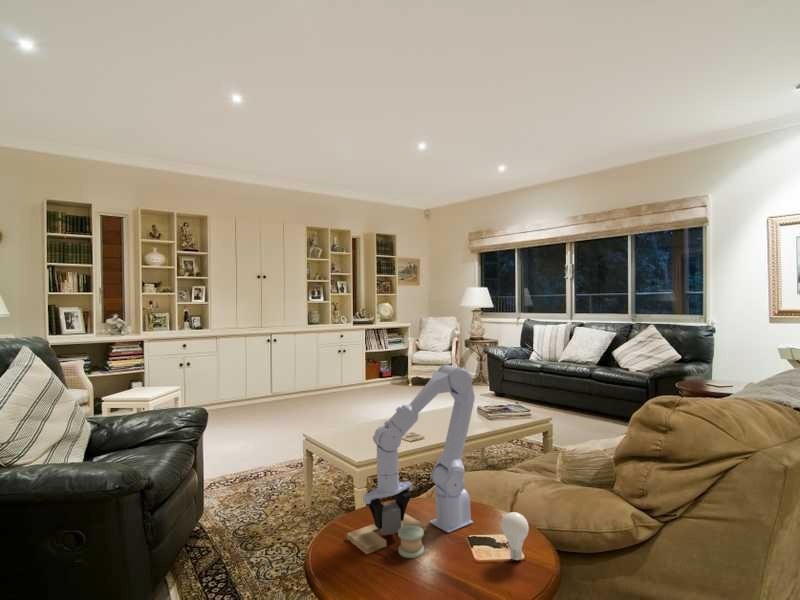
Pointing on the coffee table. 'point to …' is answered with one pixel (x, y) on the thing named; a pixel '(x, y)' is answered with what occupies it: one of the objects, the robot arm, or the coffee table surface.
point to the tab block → (391, 518)
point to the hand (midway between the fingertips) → (389, 523)
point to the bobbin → (411, 541)
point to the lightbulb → (515, 533)
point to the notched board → (376, 535)
